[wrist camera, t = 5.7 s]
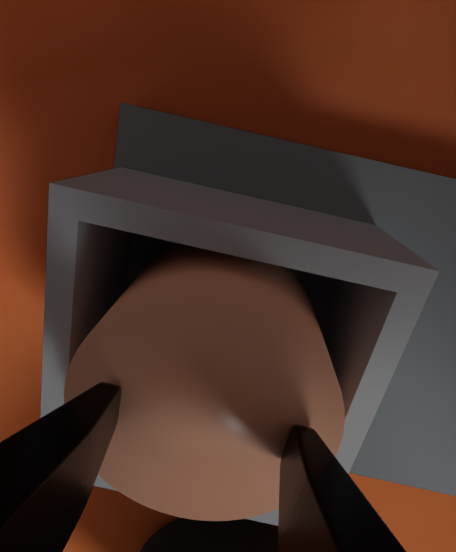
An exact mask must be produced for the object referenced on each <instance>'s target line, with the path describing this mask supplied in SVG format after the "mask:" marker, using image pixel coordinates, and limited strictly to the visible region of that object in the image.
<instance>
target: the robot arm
mask: <svg viewBox="0 0 456 552" xmlns="http://www.w3.org/2000/svg"><path fill="white" fill-rule="evenodd" d="M121 392H122V390H121V387H120V386H119V385H115V384H111V383H106V382H100V383H98V384H96V385H95V386H93V387H91V388H90V389H88V390H86V391H85V392H83V393H81V394H80V395H78V396H76V397H75V398H73V399H71V400H70V401H68V402H66V403H65V404H63V405H61V406H60V407H58V408H56V409H55V410H53V411H51V412H50V413H48V414H46V415H45V416H43V417H41V418H40V419H38V420H37V421H35V422H33V423H32V424H30V425H28V426H27V427H25V428H23V429H22V430H20V431H18V432H17V433H15V434H13V435H12V436H10V437H8V438H7V439H5V440H3V441H2V442H0V552H63V550H64V548H65V546H66V544H67V542H68V540H69V538H70V536H71V534H72V532H73V530H74V528H75V526H76V524H77V522H78V520H79V518H80V516H81V514H82V512H83V510H84V508H85V505H86V503H87V501H88V498H89V496H90V493H91V491H92V488H93V486H94V483H95V480H96V478H97V475H98V473H99V470H100V467H101V465H102V462H103V460H104V457H105V454H106V452H107V449H108V447H109V444H110V441H111V439H112V436H113V434H114V431H115V428H116V425H117V421H118V415H119V408H120V400H121ZM278 552H406V551H405V549H404V548H403V547H402V545H401V544H400V543H399V541H398V540H397V539H396V537H395V536H394V535H393V533H392V532H391V531H390V529H389V528H388V527H387V525H386V524H385V523H384V521H383V520H382V519H381V517H380V516H379V515H378V513H377V512H376V511H375V509H374V508H373V507H372V505H371V504H370V503H369V501H368V500H367V499H366V497H365V496H364V495H363V493H362V492H361V491H360V489H359V488H358V487H357V485H356V484H355V483H354V481H353V480H352V479H351V477H350V476H349V475H348V473H347V472H346V471H345V469H344V468H343V467H342V465H341V464H340V463H339V461H338V460H337V459H336V457H335V456H334V455H333V453H332V452H331V451H330V449H329V448H328V447H327V445H326V444H325V443H324V441H323V440H322V439H321V437H320V436H319V435H318V433H317V432H316V431H315V430H314V429H313V428H310V427H306V426H301V425H294V426H293V427H292V428H291V430H290V433H289V436H288V439H287V441H286V444H285V447H284V450H283V453H282V456H281V462H280V484H279V521H278Z"/></svg>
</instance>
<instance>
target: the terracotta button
mask: <svg viewBox="0 0 456 552" xmlns="http://www.w3.org/2000/svg"><path fill="white" fill-rule="evenodd" d="M100 382H106V383H111V384H115V385H119V386H120V387H121V390H122V392H121V400H120V408H119V415H118V421H117V425H116V428H115V431H114V434H113V436H112V439H111V441H110V444H109V447H108V449H107V452H106V454H105V457H104V460H103V462H102V465H101V467H100V470H99V473H98V475H99V476H100V477H102V478H103V479H104V480H105V481H106V482H107V483H108V484H109V485H111V486H112V487H113V488H115V489H116V490H117V491H119V492H120V493H122V494H123V495H125V496H127V497H128V498H130V499H132V500H133V501H135V502H137V503H140V504H142V505H144V506H146V507H148V508H151V509H153V510H156V511H159V512H162V513H165V514H168V515H172V516H176V517H180V518H186V519H192V520H202V521H230V520H239V519H245V518H250V517H255V516H259V515H262V514H265V513H268V512H271V511H274V510H276V509H278V508H279V484H280V462H281V456H282V453H283V450H284V447H285V444H286V441H287V439H288V436H289V433H290V430H291V428H292V427H293V426H294V425H301V426H306V427H310V428H313V429H314V430H315V431H316V432H317V433H318V435H319V436H320V437H321V439H322V440H323V441H324V443H325V444H326V445H327V447H328V448H329V449H330V451H331V452H332V453H333V455H334V456H336V454H337V452H338V449H339V446H340V443H341V440H342V437H343V430H344V424H345V410H344V402H343V396H342V391H341V388H340V385H339V382H338V379H337V377H336V374H335V371H334V368H333V365H332V362H331V359H330V356H329V353H328V350H327V347H326V344H325V341H324V338H323V335H322V332H321V329H320V327H319V324H318V321H317V318H316V315H315V312H314V309H313V306H312V303H311V300H310V297H309V294H308V292H307V290H306V288H305V286H304V284H303V282H302V280H301V279H300V278H299V276H298V275H297V273H296V272H295V271H294V270H293V269H291V268H287V267H282V266H278V265H273V264H269V263H264V262H260V261H255V260H251V259H247V258H242V257H238V256H233V255H229V254H224V253H220V252H215V251H211V250H207V249H202V248H198V247H193V246H189V245H184V244H180V243H177V244H175V245H173V246H171V247H170V248H168V249H166V250H164V251H163V252H161V253H160V254H159V255H157V256H156V257H155V258H154V259H153V260H152V261H151V262H150V263H149V264H148V265H147V266H146V267H145V268H144V269H143V270H142V272H141V273H140V274H139V275H138V276H137V277H136V279H135V280H134V281H133V282H132V283H131V285H130V286H129V287H128V288H127V289H126V290H125V292H124V293H123V294H122V295H121V296H120V298H119V299H118V300H117V301H116V302H115V303H114V305H113V306H112V307H111V308H110V309H109V311H108V312H107V313H106V314H105V315H104V316H103V318H102V319H101V320H100V321H99V322H98V324H97V325H96V326H95V327H94V328H93V329H92V331H91V332H90V333H89V334H88V335H87V337H86V338H85V339H84V341H83V342H82V343H81V345H80V346H79V347H78V349H77V351H76V353H75V355H74V357H73V359H72V360H71V363H70V366H69V369H68V372H67V375H66V380H65V387H64V404H65V403H66V402H68V401H70V400H71V399H73V398H75V397H76V396H78V395H80V394H81V393H83V392H85V391H86V390H88V389H90V388H91V387H93V386H95V385H96V384H98V383H100Z"/></svg>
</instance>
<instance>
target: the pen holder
mask: <svg viewBox="0 0 456 552" xmlns="http://www.w3.org/2000/svg"><path fill="white" fill-rule="evenodd" d="M140 552H278V532H277V531H275V530H274V529H272V528H270V527H268V526H266V525H264V524H262V523H260V522H257V521H253V520H249V519H239V520H230V521H202V520H192V519H186V518H181V519H178V520H176V521H173V522H171V523H169V524H168V525H166V526H164V527H163V528H161V529H160V530H159V531H158V532H156V533H155V534H154V535H153V536H152V537H150V539H149V540H148V541H147V542H146V543H145V544H144V546H143V548H142V550H141V551H140Z"/></svg>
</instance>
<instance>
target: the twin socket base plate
mask: <svg viewBox="0 0 456 552" xmlns="http://www.w3.org/2000/svg"><path fill="white" fill-rule="evenodd" d="M177 243H180V244H184V245H189V246H193V247H198V248H202V249H207V250H211V251H215V252H220V253H224V254H229V255H233V256H238V257H242V258H247V259H251V260H255V261H260V262H264V263H269V264H273V265H278V266H282V267H287V268H291V269H293V270H294V271H295V272H296V273H297V275H298V276H299V278H300V279H301V280H302V282H303V284H304V286H305V288H306V290H307V292H308V294H309V297H310V300H311V303H312V306H313V309H314V312H315V315H316V318H317V321H318V324H319V327H320V329H321V332H322V335H323V338H324V341H325V344H326V347H327V350H328V353H329V356H330V359H331V362H332V365H333V368H334V371H335V374H336V377H337V379H338V382H339V385H340V388H341V391H342V396H343V402H344V410H345V424H344V430H343V437H342V440H341V443H340V446H339V449H338V452H337V454H336V456H335V457H336V459H337V460H338V461H339V463H340V464H341V465H342V467H343V468H344V469H345V471H346V472H347V473H348V474H349V473H353V474H358V475H362V476H367V477H371V478H376V479H380V480H385V481H389V482H394V483H399V484H403V485H408V486H412V487H417V488H421V489H426V490H430V491H435V492H440V493H444V494H449V495H453V496H456V179H453V178H449V177H445V176H440V175H436V174H432V173H427V172H423V171H418V170H414V169H410V168H405V167H401V166H397V165H392V164H388V163H383V162H379V161H375V160H370V159H366V158H362V157H357V156H353V155H348V154H344V153H340V152H335V151H331V150H327V149H322V148H318V147H314V146H309V145H305V144H300V143H296V142H292V141H287V140H283V139H279V138H274V137H270V136H265V135H261V134H257V133H252V132H248V131H244V130H239V129H235V128H231V127H226V126H222V125H217V124H213V123H209V122H204V121H200V120H196V119H191V118H187V117H182V116H178V115H174V114H169V113H165V112H161V111H156V110H152V109H148V108H143V107H139V106H134V105H130V104H126V103H121V102H120V109H119V119H118V130H117V140H116V150H115V160H114V169H110V170H105V171H101V172H96V173H92V174H87V175H83V176H78V177H74V178H69V179H65V180H60V181H56V182H51V183H49V203H48V229H47V255H46V282H45V308H44V335H43V361H42V388H41V414H40V418H41V417H43V416H45V415H46V414H48V413H50V412H51V411H53V410H55V409H56V408H58V407H60V406H61V405H63V404H64V387H65V380H66V375H67V372H68V369H69V366H70V363H71V360H72V359H73V357H74V355H75V353H76V351H77V349H78V347H79V346H80V345H81V343H82V342H83V341H84V339H85V338H86V337H87V335H88V334H89V333H90V332H91V331H92V329H93V328H94V327H95V326H96V325H97V324H98V322H99V321H100V320H101V319H102V318H103V316H104V315H105V314H106V313H107V312H108V311H109V309H110V308H111V307H112V306H113V305H114V303H115V302H116V301H117V300H118V299H119V298H120V296H121V295H122V294H123V293H124V292H125V290H126V289H127V288H128V287H129V286H130V285H131V283H132V282H133V281H134V280H135V279H136V277H137V276H138V275H139V274H140V273H141V272H142V270H143V269H144V268H145V267H146V266H147V265H148V264H149V263H150V262H151V261H152V260H153V259H154V258H155V257H156V256H157V255H159V254H160V253H161V252H163V251H164V250H166V249H168V248H170V247H171V246H173V245H175V244H177ZM94 486H97V487H102V488H106V489H111V490H115V491H117V490H116V489H115V488H113V487H112V486H111V485H109V484H108V483H107V482H106V481H105V480H104V479H103V478H102V477H100V476H99V475H97V478H96V480H95V483H94ZM245 519H249V520H253V521H258V522H262V523H267V524H272V525H276V526H278V521H279V508H278V509H276V510H274V511H271V512H268V513H265V514H262V515H259V516H255V517H250V518H245Z"/></svg>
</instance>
